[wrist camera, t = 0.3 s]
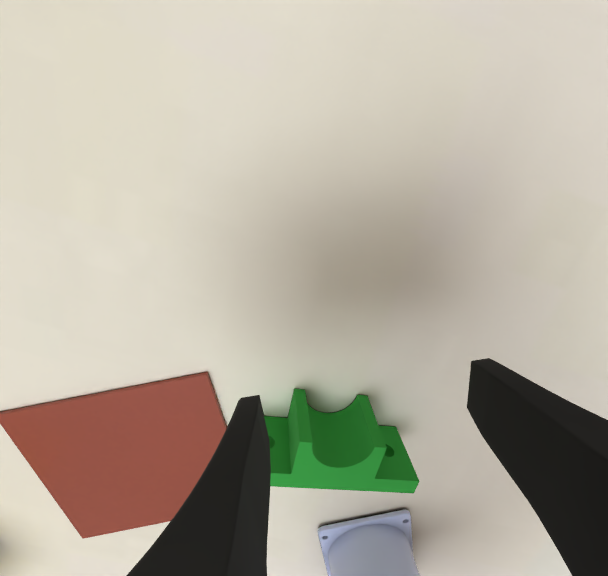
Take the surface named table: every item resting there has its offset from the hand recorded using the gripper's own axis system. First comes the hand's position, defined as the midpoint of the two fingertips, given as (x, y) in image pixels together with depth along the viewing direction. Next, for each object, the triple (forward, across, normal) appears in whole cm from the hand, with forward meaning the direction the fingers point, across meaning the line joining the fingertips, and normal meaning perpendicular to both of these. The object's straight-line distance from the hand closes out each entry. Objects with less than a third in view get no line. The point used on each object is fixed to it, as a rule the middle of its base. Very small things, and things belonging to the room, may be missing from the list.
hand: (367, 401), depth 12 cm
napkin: (+10, +14, +12) cm, 21 cm away
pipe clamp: (+10, +1, +10) cm, 14 cm away
